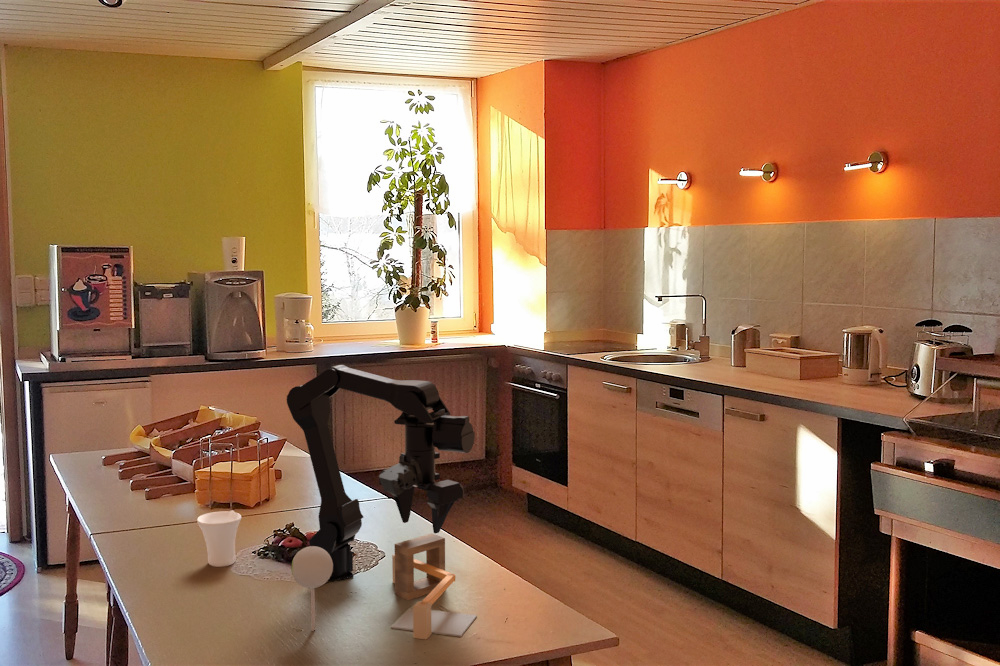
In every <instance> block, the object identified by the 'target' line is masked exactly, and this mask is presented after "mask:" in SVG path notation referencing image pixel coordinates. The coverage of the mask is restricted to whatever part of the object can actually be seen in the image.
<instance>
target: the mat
mask: <svg viewBox="0 0 1000 666" xmlns="http://www.w3.org/2000/svg"><path fill="white" fill-rule="evenodd" d="M476 619H477V614H468V613H461V612H453V611H443V610H434V609H431V634H435V635H444V636H451V637H460V638H461V637H463V635H464V634H465V633H466V631H467V630H468V628H469V627H470V626H471V625H472V624H473V622H474V621H475V620H476ZM390 629H395V630H403V631H412V632H413V607H408V609H406V610H405V612H404V613H402V615H400V617H399V618H398V619H397V620H396V621H395V622H394V623H393V624H392V625H391V626H390Z"/></svg>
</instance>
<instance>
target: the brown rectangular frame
mask: <svg viewBox="0 0 1000 666" xmlns="http://www.w3.org/2000/svg"><path fill="white" fill-rule="evenodd" d="M423 552H426V559H425V560H426V562H425V563H426V564H429V565H431V566H434V567H437V568H439V569H442V570H444V571H446V538H445V537H444V536H440V535H437V534H436V533H428V534H425V535H422V536H418V537H415V538H412V539H411V538H410V539H407V540H403V541H400V542H396V543H394V555H395V583H394V595H396V596H398V597H400V598H402V599H405V600H407V601H410V600H412V599H413V600H414V599H416V598H419V597H422V596H425V595H428V594H429V593H430V592H431V591H432V590H433V589H434V588H435V587H436V586H437V585H438V584H439V583H440V582H441V581H442V580H443V579H440V578H438V577H435V576H433V575H430V574H428V573H426V577H424V578H421V579H418V580H415V578H414V577H415V576H414V575H415V572H414V571H415V568H414V559H415V557H414V556H415V555H416V554H420V553H423Z"/></svg>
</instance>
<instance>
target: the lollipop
mask: <svg viewBox="0 0 1000 666" xmlns="http://www.w3.org/2000/svg"><path fill="white" fill-rule="evenodd" d="M290 569H291V575H292V577H293V580H294V581H295V582H296V583H297V585H299V586H301V587H302V588H306V589H310V607H311V608H310V611H311V613H310V615H311V616H310V617H311V631H312V632H315V631H316V602H315V601H316V598H315V597H316V596H315V595H316V594H315V592H316V591H315V589H316V588H319V587H321V586H323V585H325V584H326V583H328V582H327V581H328V579H329V578H330V576H331V574H332V571H333V562H332V559H331V557H330V555H329V554H328V552H327V551H325V550H324V549H322V548H320V547H317V546H310V545H309V546H306V547H303V548H301V549H300V550H299V551H297V552H296V554H295V555H294V557H293V559H292V561H291V567H290ZM314 630H315V631H314Z"/></svg>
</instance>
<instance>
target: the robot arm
mask: <svg viewBox="0 0 1000 666" xmlns="http://www.w3.org/2000/svg"><path fill="white" fill-rule="evenodd" d="M340 389H341V390H345V391H349V392H352V393H356V394H360V395H364V396H366V397H370V398H374V399H378V400H381V401H384V402H387V403H389V404H390V405H391V406H392V407H393V408H395V409H396V410H398V411H400V412H401V414H400V415H399V416H398V417H397V418H396V419H395V420H394V421H393V422H394V424H395V425H401V426H404V452H402V453H400V455H399V456H398V457H399V458H398V459H399V460H398V463H397V464H394V465H391V466H390V467H389V468H386V469H383V470H382V471H381V472H380V473H379V475H378V478H379V479H378V482H379V485H380V486H381V487H382V489H383V492H386V493H387V492H388V493H389V494H391V495H392V497H393V498H394V501H395V503H396V506H397V509H398V512H399V515H400V519H401V521H402V523H404V524H406V523H408V522H409V519H410V516H411V511H412V505H413V499H414V495H415V494H414V493H415V489H419V490H422V491H426V497H427V498H428V500H426V501H425V502H426V503H427V505H428V506H430V508H431V520H432V522H431V523H432V531H433V534H439V532H441V529H442V528H443V525H444V522H445V520H446V518H447V516H448V514H449V513H450V511H451V509H452V507H453V506H454V504H455V502H458V501H459V499H462V498H464V486H463V485H462V484H461V483H460V482H458V481H454V480H451V479H445V480H441V477H440V476H441V474H440V473H437V472H436V460H437V459H440V457H441V455H440V454H441V453H440V452H438V451H442V452H452V453H463V454H469V453H471V451H472V449H473V447H474V442H475V436H476V435H475V431H474V427H473V425H472V423H471V422H470V417H469V416H468V415H460V416H458V415H457V416H456V415H451V412H450V410H449V409H448V408H447V405H446V404H445V403H444V401H443V400H442V398H441V396H440V394H439V390H438V388H437V387H436V384H434V383H433V382H431V381H428V380H417V379H416V380H414V379H411V380H410V379H408V380H402V379H401V380H398V379H394V378H393V379H392V378H389V377H386V376H382V375H377V374H373V373H371V372H367V371H363V370H359V369H355V368H351V367H349V366H347V365H345V364H338V365H333V366H330V367H327V368H326V369H325V370H323V372H321V373H320V374H318V375H316V376H315V377H313V378H312V379H310V380H308V381H307V382H305V383H304V384H299V385H296V386H294V387H292V388H291V389H290V390H289V392H288V394H287V395H286V404H287V407H288V410H289V412H290V414H291V417H292V419H293V420H294V422H295V423H296V424H297V425H298V426H299V427H300V429H301V430H302V432H303V434H304V438H305V441H306V445H307V450H308V454H309V458H310V461H311V465H312V469H313V472H314V477H315V480H316V485H317V487H318V488H317V489H318V493H319V496H320V507H319V511H318V517H317V518H318V525H319V529H318V530H317V531H316V532H315V533H314V535H313V536H312V537H310V539H308V543H309V546H317V547H320V548H322V549H324V550H325V551H327V552H328V554H329V555H330V557H331V559H332V562H333V571H332V574H331V576H330V578H329V579H328V581H327V582H326V583H328V582H335V581H339V580H344V579H351V578H354V573H353V571H354V559H353V551H352V550H351V545H350V544H349V543H352V542H354V541H355V538H356V534H357V533H358V532H360V530H361V528H362V524H363V523H362V521H363V520H362V519H363V518H364V515H363V514H362V512H361V508H360V507H361V506H360V501H359V499H358V498H355V499H352V498H350V497H349V495H348V494H347V492H346V490H345V486H344V482H343V479H342V476H341V475H342V474H341V471H340V468H339V463H338V460H337V457H336V452H335V448H334V445H333V441H332V437H331V432H330V428H329V419H330V413H331V402H330V398H331V397H333V396H334V395H336V393H338V392H339V391H340ZM429 411H431V412H429ZM436 448H437V450H438V451H436ZM437 480H440V481H437ZM435 481H436V482H435Z"/></svg>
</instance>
